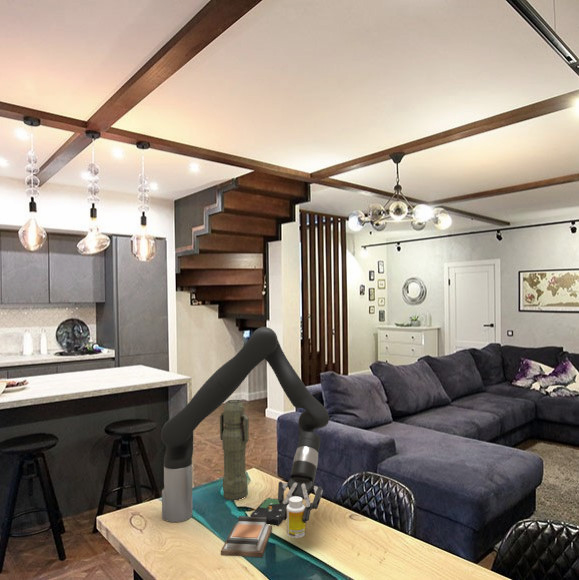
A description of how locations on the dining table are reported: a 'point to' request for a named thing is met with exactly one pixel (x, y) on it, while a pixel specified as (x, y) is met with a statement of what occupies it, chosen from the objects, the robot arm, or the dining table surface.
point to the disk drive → (269, 511)
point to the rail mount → (248, 537)
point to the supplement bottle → (295, 517)
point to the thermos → (234, 449)
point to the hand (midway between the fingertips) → (294, 520)
